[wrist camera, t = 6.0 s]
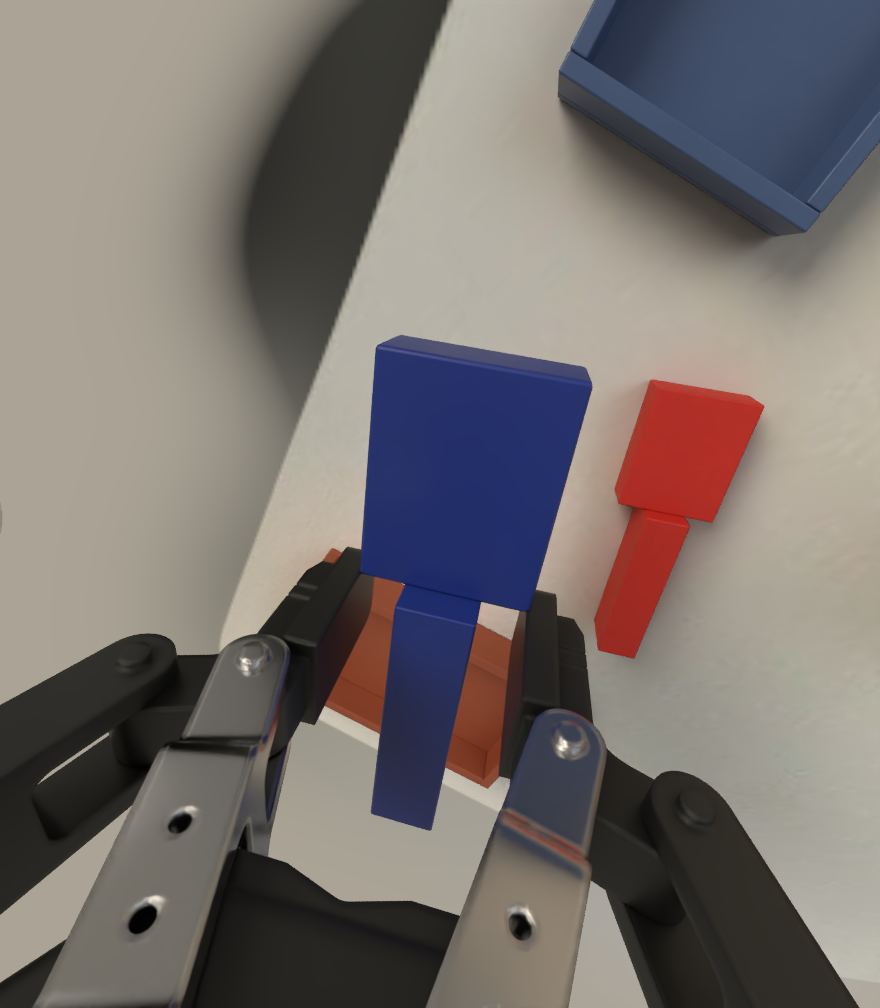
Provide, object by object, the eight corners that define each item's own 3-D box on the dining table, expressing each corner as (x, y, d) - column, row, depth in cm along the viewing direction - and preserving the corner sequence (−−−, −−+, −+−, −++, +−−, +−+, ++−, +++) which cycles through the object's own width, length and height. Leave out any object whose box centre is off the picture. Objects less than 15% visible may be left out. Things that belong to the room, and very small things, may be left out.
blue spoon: (479, 765, 16) (468, 843, 14) (361, 733, 16) (333, 803, 14) (587, 366, 10) (599, 393, 8) (398, 333, 10) (359, 351, 8)
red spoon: (648, 632, 26) (657, 665, 24) (573, 614, 26) (574, 645, 24) (750, 396, 20) (773, 411, 18) (650, 379, 20) (661, 391, 18)
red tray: (288, 649, 32) (268, 677, 30) (332, 547, 28) (313, 571, 25) (492, 753, 32) (487, 789, 30) (567, 669, 28) (568, 704, 26)
